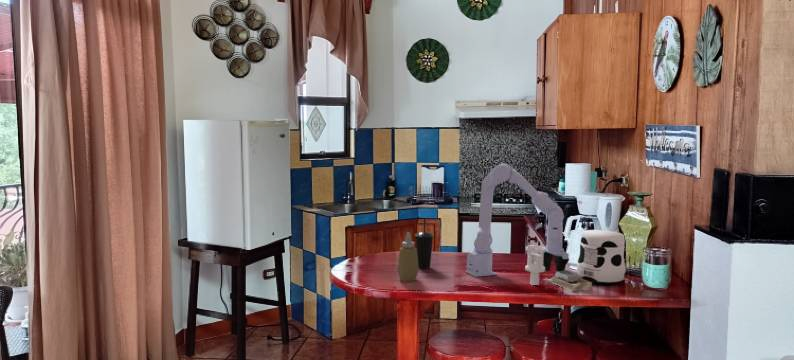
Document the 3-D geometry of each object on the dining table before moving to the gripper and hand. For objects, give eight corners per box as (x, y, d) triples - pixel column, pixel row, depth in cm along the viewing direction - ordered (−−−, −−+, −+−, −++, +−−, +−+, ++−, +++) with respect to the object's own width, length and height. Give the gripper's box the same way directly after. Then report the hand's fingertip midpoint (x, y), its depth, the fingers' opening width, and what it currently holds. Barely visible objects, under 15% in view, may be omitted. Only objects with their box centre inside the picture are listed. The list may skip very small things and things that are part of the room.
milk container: (620, 275, 218) (622, 230, 216) (629, 288, 201) (631, 239, 199) (574, 273, 221) (575, 228, 220) (578, 285, 205) (581, 237, 203)
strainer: (520, 283, 207) (521, 243, 205) (534, 280, 210) (536, 241, 208) (533, 288, 201) (535, 247, 199) (548, 285, 204) (550, 245, 202)
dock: (571, 294, 197) (571, 285, 196) (541, 281, 212) (541, 272, 212) (591, 291, 200) (592, 282, 200) (560, 278, 216) (561, 270, 215)
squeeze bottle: (403, 283, 205) (404, 235, 203) (393, 278, 212) (393, 231, 210) (422, 281, 208) (423, 233, 206) (412, 275, 215) (412, 229, 214)
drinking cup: (411, 268, 226) (412, 219, 224) (418, 264, 233) (418, 216, 231) (429, 270, 223) (430, 221, 221) (435, 266, 230) (436, 218, 228)
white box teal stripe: (567, 285, 201) (567, 275, 201) (554, 280, 208) (555, 270, 207) (578, 283, 203) (578, 274, 203) (565, 278, 210) (566, 269, 209)
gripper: (575, 241, 206) (574, 277, 208) (551, 233, 220) (549, 267, 221) (560, 242, 204) (558, 279, 205) (536, 235, 217) (535, 269, 218)
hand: (553, 273), depth 213 cm, fingers open, 7 cm apart
